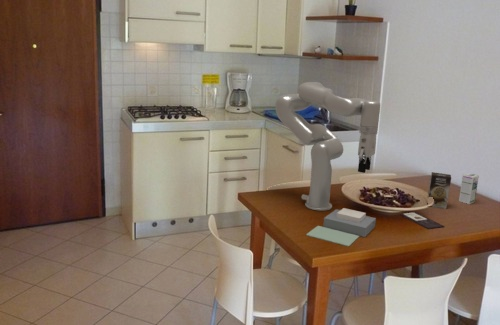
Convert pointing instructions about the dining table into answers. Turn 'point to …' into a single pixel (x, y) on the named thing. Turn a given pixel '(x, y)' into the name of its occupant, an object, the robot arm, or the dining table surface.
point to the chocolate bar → (422, 220)
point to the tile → (351, 215)
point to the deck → (349, 224)
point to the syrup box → (468, 188)
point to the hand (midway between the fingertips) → (363, 170)
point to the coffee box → (439, 189)
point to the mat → (332, 235)
